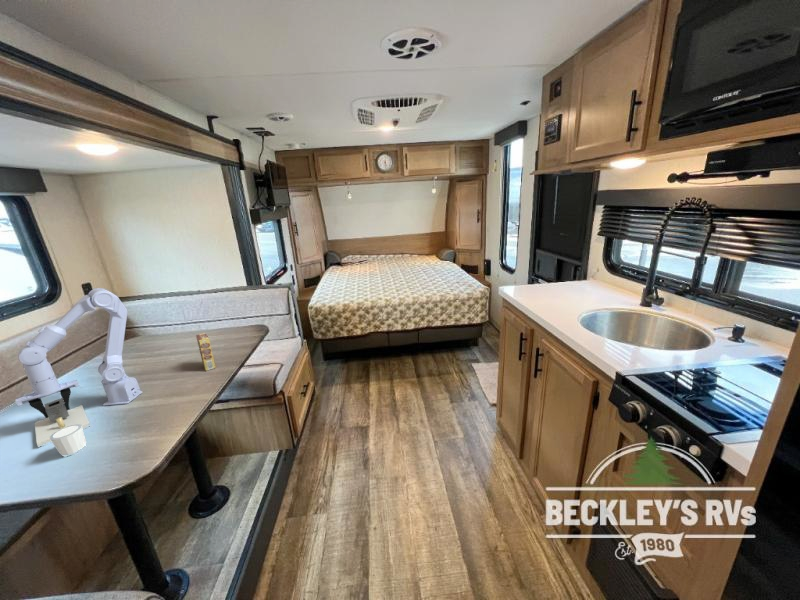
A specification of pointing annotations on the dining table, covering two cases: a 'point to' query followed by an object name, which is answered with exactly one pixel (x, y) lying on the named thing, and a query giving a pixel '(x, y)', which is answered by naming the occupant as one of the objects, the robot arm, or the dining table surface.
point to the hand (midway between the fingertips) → (57, 412)
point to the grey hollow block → (56, 410)
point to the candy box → (205, 351)
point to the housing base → (59, 424)
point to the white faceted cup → (69, 439)
